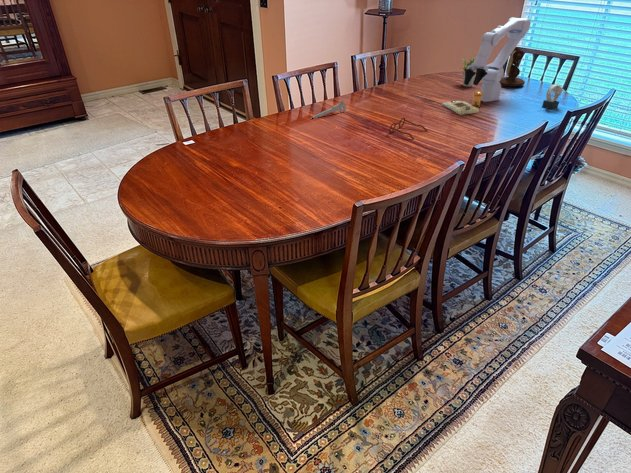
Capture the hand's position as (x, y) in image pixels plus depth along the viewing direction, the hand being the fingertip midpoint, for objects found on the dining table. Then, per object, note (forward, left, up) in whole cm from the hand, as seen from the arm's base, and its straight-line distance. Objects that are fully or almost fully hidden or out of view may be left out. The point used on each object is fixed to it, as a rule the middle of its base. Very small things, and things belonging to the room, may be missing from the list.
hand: (470, 84), depth 217 cm
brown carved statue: (-44, -27, -12) cm, 53 cm away
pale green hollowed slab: (+5, +1, -11) cm, 12 cm away
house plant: (-22, -35, -12) cm, 43 cm away
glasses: (+43, +23, -12) cm, 50 cm away
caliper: (+71, -14, -12) cm, 73 cm away
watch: (-37, +15, -12) cm, 42 cm away
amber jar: (-4, +1, -11) cm, 12 cm away
